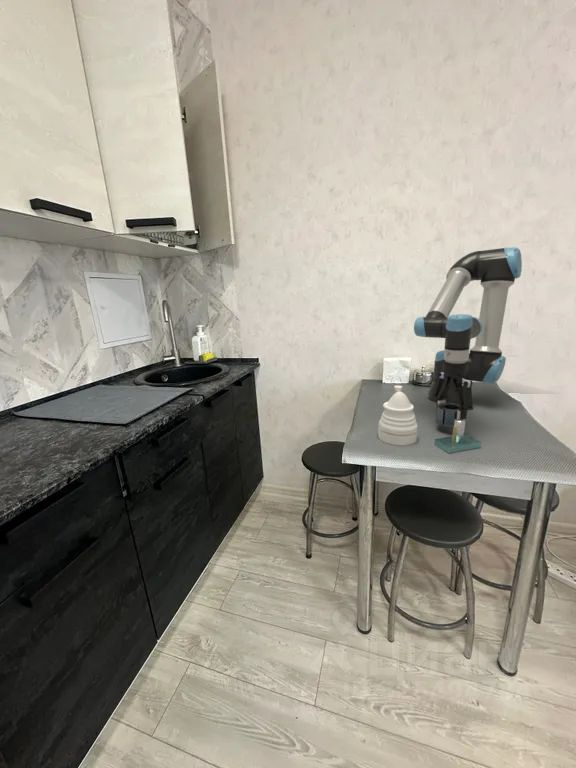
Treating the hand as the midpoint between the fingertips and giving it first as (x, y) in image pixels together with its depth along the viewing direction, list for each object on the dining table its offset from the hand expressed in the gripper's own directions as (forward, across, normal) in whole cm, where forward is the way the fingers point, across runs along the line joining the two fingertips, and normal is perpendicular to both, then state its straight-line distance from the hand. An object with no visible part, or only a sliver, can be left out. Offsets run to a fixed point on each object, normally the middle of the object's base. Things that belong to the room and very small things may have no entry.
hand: (449, 421), depth 114 cm
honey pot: (+3, -1, -21) cm, 21 cm away
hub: (0, 0, 0) cm, 0 cm away
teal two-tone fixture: (+3, +11, -7) cm, 14 cm away
